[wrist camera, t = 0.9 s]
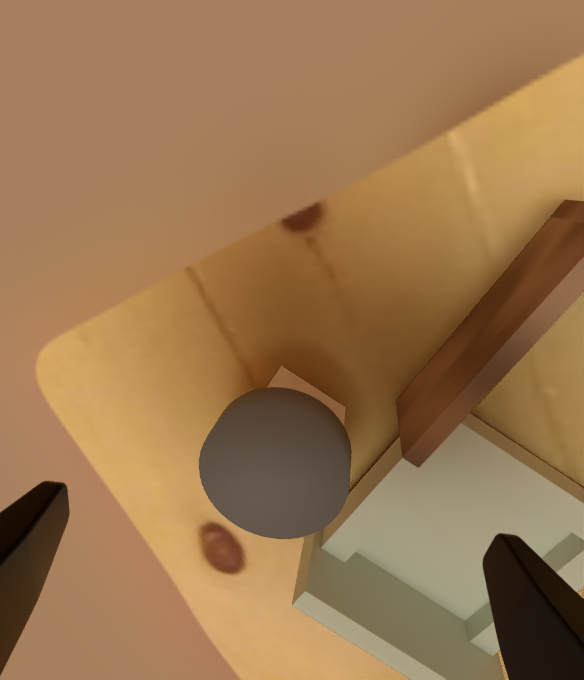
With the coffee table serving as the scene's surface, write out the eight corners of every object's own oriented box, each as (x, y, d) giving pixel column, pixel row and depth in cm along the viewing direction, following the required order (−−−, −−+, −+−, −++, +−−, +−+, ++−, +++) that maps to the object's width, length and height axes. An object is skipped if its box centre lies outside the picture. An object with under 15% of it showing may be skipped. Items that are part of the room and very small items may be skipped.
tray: (429, 386, 22) (444, 441, 17) (628, 517, 23) (694, 605, 18) (305, 529, 26) (291, 605, 21) (477, 637, 27) (499, 734, 22)
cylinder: (380, 439, 20) (381, 466, 18) (302, 530, 22) (296, 562, 20) (257, 359, 20) (245, 379, 18) (191, 460, 22) (174, 486, 20)
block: (346, 407, 24) (341, 444, 20) (304, 459, 25) (294, 502, 22) (281, 365, 23) (266, 395, 20) (243, 420, 25) (223, 457, 22)
